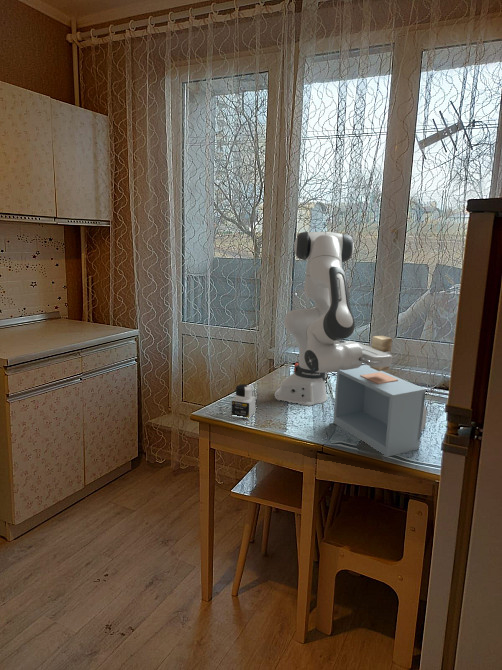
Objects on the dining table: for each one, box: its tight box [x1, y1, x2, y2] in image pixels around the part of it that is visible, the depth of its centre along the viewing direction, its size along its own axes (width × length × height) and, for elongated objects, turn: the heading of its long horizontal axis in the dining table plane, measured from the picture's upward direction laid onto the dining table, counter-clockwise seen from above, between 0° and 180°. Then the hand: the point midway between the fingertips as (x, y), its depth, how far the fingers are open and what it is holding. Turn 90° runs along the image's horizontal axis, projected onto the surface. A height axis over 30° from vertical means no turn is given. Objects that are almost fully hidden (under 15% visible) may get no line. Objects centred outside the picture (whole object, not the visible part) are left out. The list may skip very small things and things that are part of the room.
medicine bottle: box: [231, 383, 256, 418], centre depth 183 cm, size 7×7×12 cm
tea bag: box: [421, 404, 428, 432], centre depth 175 cm, size 4×7×10 cm, turn 147°
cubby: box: [333, 364, 427, 458], centre depth 167 cm, size 14×29×22 cm, turn 27°
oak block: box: [370, 335, 393, 372], centre depth 162 cm, size 4×4×11 cm
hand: (383, 351), depth 163 cm, fingers closed on oak block, 4 cm apart
